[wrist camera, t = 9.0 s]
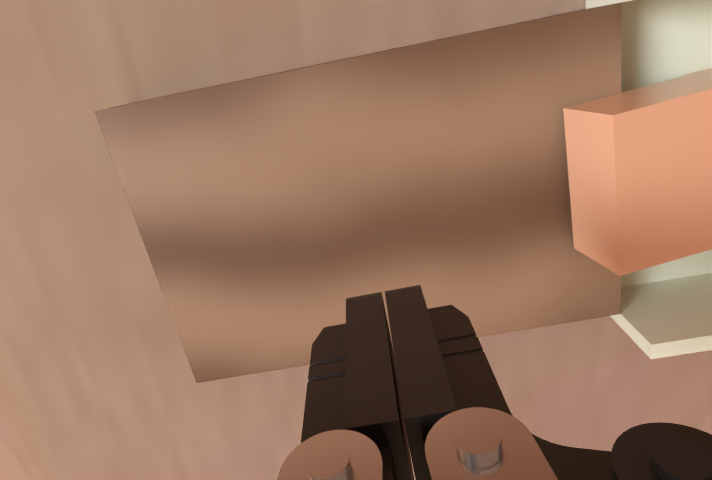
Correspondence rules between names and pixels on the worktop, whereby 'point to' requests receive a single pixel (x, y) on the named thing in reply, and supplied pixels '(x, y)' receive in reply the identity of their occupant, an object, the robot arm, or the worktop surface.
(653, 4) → the tray
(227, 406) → the worktop surface
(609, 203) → the tile
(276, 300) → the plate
